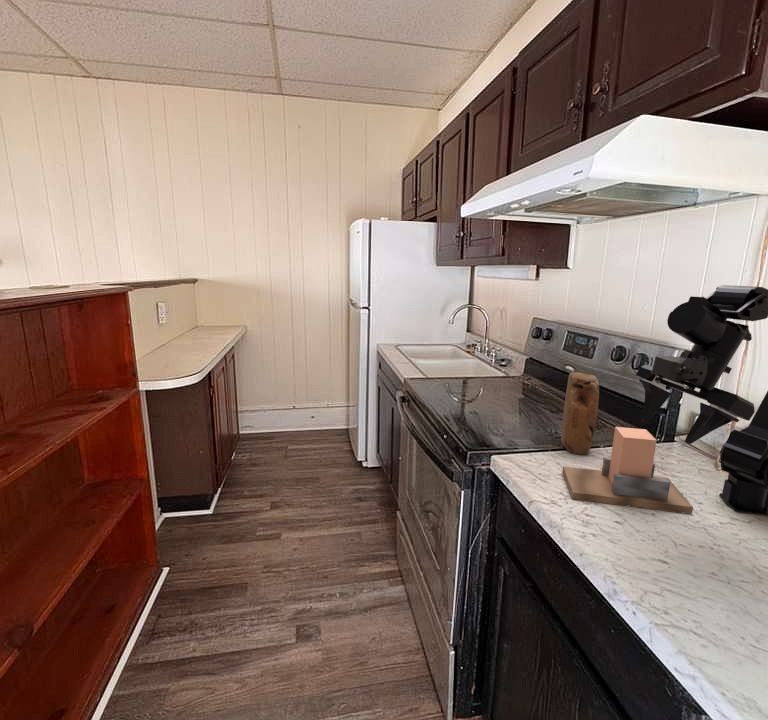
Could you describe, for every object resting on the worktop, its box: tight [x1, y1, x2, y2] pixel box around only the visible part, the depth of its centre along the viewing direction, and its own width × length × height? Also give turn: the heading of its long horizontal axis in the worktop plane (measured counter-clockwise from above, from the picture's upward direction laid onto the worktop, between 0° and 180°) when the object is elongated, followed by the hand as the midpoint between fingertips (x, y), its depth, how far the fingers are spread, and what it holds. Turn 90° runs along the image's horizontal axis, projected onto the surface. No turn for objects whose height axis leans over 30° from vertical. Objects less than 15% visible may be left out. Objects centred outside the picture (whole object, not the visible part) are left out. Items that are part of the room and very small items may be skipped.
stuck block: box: [608, 426, 658, 484], centre depth 89 cm, size 6×6×12 cm
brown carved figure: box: [560, 371, 600, 455], centre depth 111 cm, size 11×8×20 cm
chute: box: [562, 456, 694, 514], centre depth 90 cm, size 22×12×6 cm, turn 77°
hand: (664, 431), depth 76 cm, fingers open, 9 cm apart
